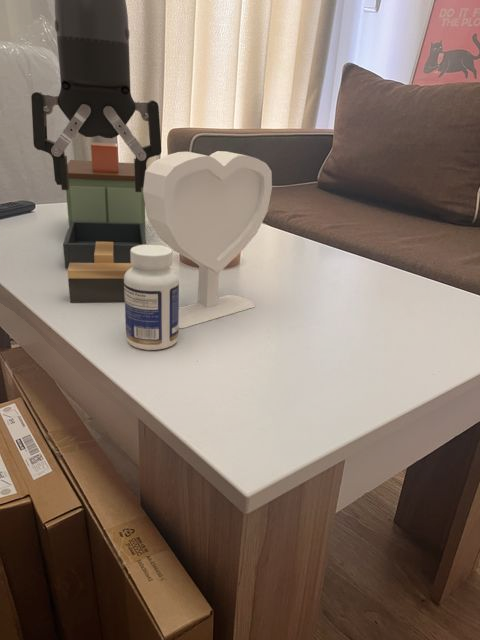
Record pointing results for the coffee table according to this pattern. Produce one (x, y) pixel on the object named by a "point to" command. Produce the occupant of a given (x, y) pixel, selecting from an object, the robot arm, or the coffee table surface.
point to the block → (104, 157)
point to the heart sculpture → (207, 218)
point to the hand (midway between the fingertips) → (102, 190)
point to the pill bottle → (151, 298)
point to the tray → (101, 240)
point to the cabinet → (103, 195)
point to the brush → (98, 277)
